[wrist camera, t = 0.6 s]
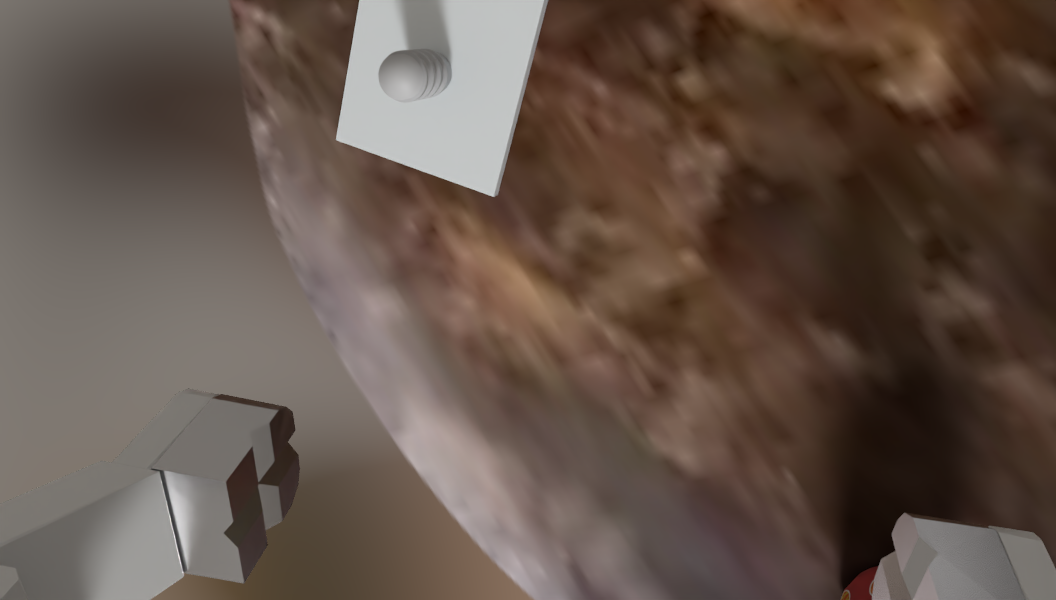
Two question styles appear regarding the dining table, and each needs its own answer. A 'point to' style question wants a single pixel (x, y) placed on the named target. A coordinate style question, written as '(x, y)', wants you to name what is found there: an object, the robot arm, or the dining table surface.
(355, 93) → the stud board
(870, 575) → the smoothie
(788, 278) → the dining table surface
